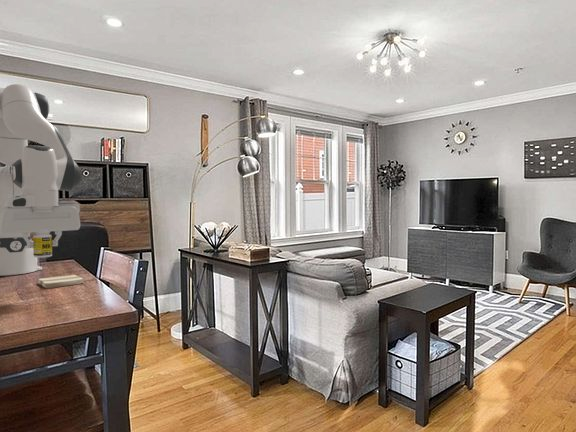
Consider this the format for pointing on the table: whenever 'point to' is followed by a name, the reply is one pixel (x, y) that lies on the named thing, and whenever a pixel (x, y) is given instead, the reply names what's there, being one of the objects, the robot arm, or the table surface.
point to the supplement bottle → (42, 244)
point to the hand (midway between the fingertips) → (42, 247)
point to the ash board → (60, 281)
